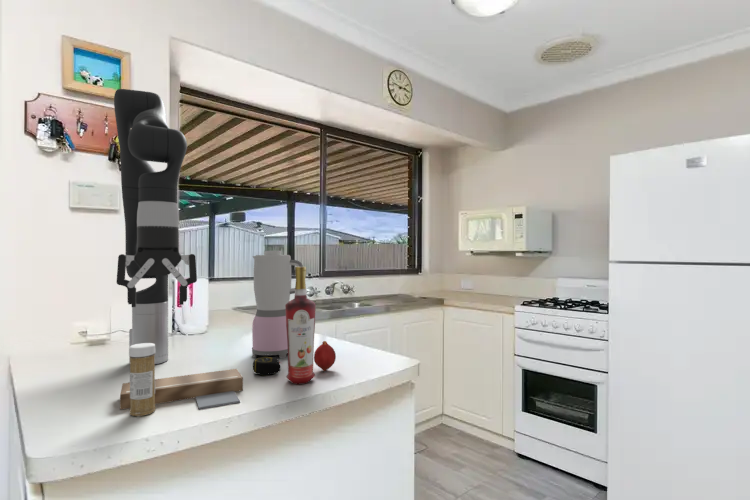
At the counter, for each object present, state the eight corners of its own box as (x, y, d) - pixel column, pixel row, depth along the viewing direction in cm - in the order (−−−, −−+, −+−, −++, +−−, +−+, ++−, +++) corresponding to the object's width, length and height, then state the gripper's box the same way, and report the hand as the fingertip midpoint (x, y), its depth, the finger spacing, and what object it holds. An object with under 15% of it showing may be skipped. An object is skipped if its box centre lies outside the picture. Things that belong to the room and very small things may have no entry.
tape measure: (280, 376, 107) (280, 361, 107) (253, 378, 105) (253, 363, 105) (278, 369, 114) (278, 355, 114) (252, 371, 112) (252, 357, 112)
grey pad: (198, 409, 84) (198, 407, 84) (195, 398, 90) (195, 396, 90) (239, 402, 88) (239, 400, 88) (234, 392, 94) (234, 390, 94)
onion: (314, 367, 114) (314, 338, 114) (335, 367, 114) (335, 338, 114) (313, 374, 108) (313, 343, 108) (335, 373, 109) (335, 342, 109)
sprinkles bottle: (158, 407, 85) (158, 341, 85) (151, 416, 81) (151, 346, 81) (133, 409, 84) (133, 342, 84) (125, 418, 80) (125, 347, 80)
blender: (246, 359, 123) (245, 250, 123) (258, 349, 135) (258, 250, 135) (299, 359, 123) (299, 250, 123) (306, 349, 135) (306, 250, 135)
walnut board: (120, 409, 84) (120, 394, 84) (122, 397, 91) (122, 383, 91) (242, 390, 96) (242, 376, 96) (236, 380, 103) (236, 368, 103)
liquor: (314, 375, 107) (314, 266, 107) (317, 384, 99) (316, 267, 99) (285, 377, 105) (285, 266, 105) (285, 387, 98) (285, 267, 98)
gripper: (115, 223, 78) (115, 310, 78) (197, 225, 85) (197, 305, 84) (118, 225, 85) (118, 305, 85) (195, 227, 91) (195, 301, 91)
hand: (158, 305), depth 84 cm, fingers open, 8 cm apart
